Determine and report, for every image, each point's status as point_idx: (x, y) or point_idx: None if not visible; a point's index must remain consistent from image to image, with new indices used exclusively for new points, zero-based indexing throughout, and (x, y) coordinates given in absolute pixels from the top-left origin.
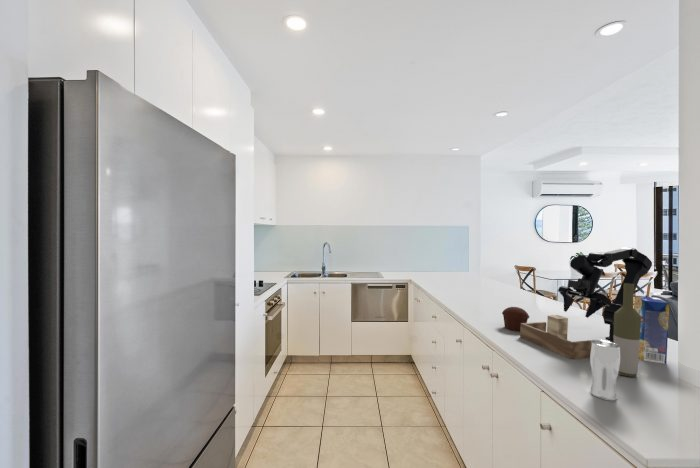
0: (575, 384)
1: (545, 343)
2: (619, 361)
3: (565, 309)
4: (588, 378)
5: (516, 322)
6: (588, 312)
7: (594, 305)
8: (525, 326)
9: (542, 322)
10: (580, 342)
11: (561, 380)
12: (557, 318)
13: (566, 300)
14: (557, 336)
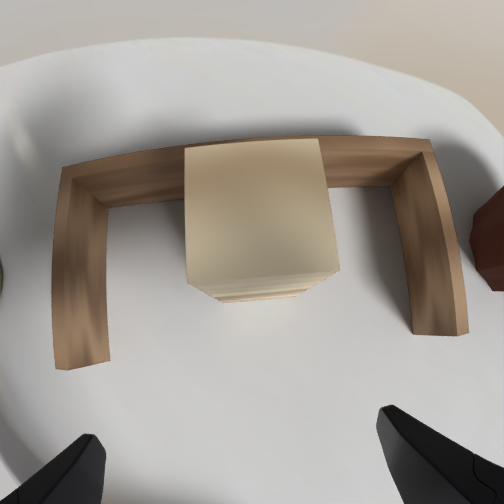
0: (16, 96)
1: None
2: None
3: (386, 424)
4: (10, 143)
5: (496, 204)
6: (50, 462)
7: None
8: (393, 141)
9: (457, 304)
10: (55, 219)
11: (38, 78)
12: (194, 147)
13: (467, 497)
14: (158, 160)
